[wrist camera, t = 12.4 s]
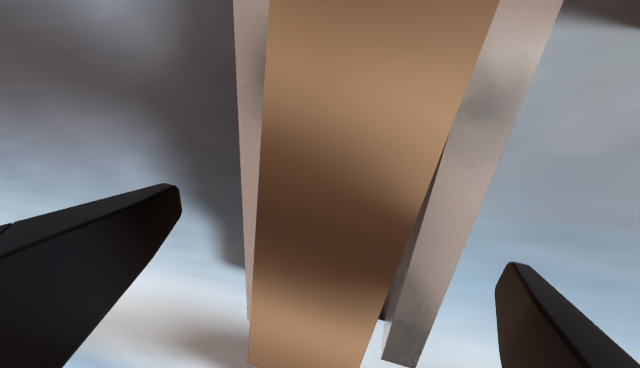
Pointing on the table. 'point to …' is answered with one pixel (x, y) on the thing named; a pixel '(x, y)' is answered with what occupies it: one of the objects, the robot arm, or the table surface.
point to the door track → (451, 171)
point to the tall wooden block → (348, 162)
